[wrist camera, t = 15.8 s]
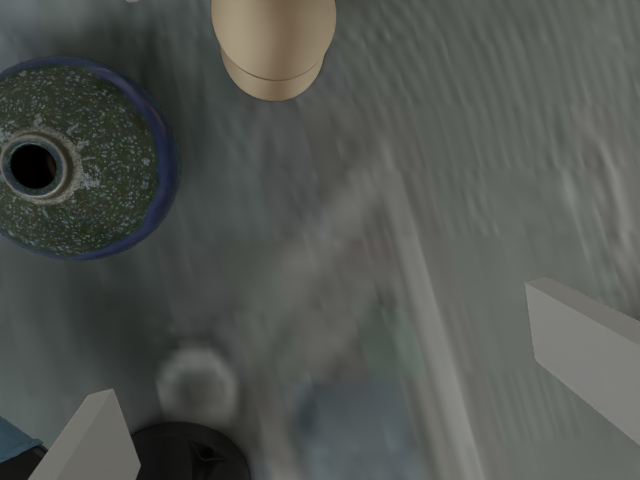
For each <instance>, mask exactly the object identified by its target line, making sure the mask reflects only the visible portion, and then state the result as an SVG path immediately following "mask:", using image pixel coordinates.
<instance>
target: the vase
mask: <svg viewBox="0 0 640 480" xmlns="http://www.w3.org/2000/svg"><path fill="white" fill-rule="evenodd" d="M180 174H181V158H180V152H179V146H178V141H177V138H176V135H175V132H174V129H173V127H172V125H171V123H170V121H169V119H168V117H167V115H166V114H165V112H164V111H163V110H162V108H161V107H160V105H159V104H158V103H157V101H156V100H155V99H154V98H153V97H152V96H151V95H150V94H149V93H148V92H147V91H146V90H145V89H144V88H143V87H142V86H141V85H140V84H138V83H137V82H136V81H134V80H133V79H132V78H131V77H129V76H127V75H126V74H124V73H122V72H120V71H119V70H117V69H115V68H113V67H110V66H108V65H105V64H102V63H100V62H97V61H93V60H88V59H84V58H80V57H71V56H50V57H41V58H36V59H32V60H29V61H25V62H21V63H19V64H17V65H15V66H12V67H10V68H8V69H6V70H4V71H3V72H2V73H0V233H1V234H2V235H3V236H5V237H6V238H8V239H9V240H11V241H12V242H14V243H15V244H17V245H19V246H21V247H23V248H25V249H27V250H30V251H32V252H34V253H38V254H41V255H44V256H47V257H50V258H56V259H62V260H80V261H83V260H93V259H101V258H105V257H109V256H112V255H116V254H118V253H121V252H123V251H125V250H127V249H129V248H131V247H133V246H135V245H136V244H138V243H139V242H141V241H142V240H144V239H145V238H147V237H148V236H149V235H150V234H151V233H152V232H153V231H154V230H155V229H156V228H157V227H158V226H159V225H160V223H161V222H162V221H163V219H164V218H165V217H166V215H167V213H168V211H169V210H170V208H171V206H172V204H173V202H174V200H175V196H176V193H177V190H178V187H179V181H180Z"/></svg>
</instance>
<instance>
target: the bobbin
mask: <svg viewBox="0 0 640 480" xmlns="http://www.w3.org/2000/svg"><path fill="white" fill-rule="evenodd" d="M211 13H212V22H213V27H214V30H215V33H216V36H217V38H218V41H219V43H220V48H221V55H222V59H223V62H224V65H225V67H226V70H227V72H228V73H229V75H230V77H231V78H232V80H233V81H234V82H235V83H236V85H238V86H239V87H240V88H241V89H242V90H243V91H244V92H246V93H247V94H249V95H251V96H253V97H255V98H257V99H261V100H264V101H272V102H273V101H284V100H288V99H291V98H293V97H296V96H298V95H299V94H301V93H302V92H304V91H305V90H306V89H307V88H308V87H309V86H310V85H311V84H312V83H313V81H314V80H315V78H316V77H317V75H318V73H319V71H320V69H321V66H322V63H323V59H324V54H325V52H326V51H327V49H328V47H329V45H330V43H331V41H332V38H333V35H334V31H335V26H336V5H335V0H212V7H211Z"/></svg>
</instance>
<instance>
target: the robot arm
mask: <svg viewBox="0 0 640 480" xmlns="http://www.w3.org/2000/svg"><path fill="white" fill-rule="evenodd" d="M524 283H525V290H526V297H527V304H528V312H529V319H530V326H531V334H532V341H533V348H534V356H535V360H536V361H537V362H538V363H539V364H540V365H542V366H543V367H544V368H545V369H547V370H548V371H549V372H550V373H551V374H553V375H554V376H555V377H556V378H558V379H559V380H560V381H561V382H562V383H564V384H565V385H566V386H567V387H569V388H570V389H571V390H572V391H573V392H575V393H576V394H577V395H578V396H580V397H581V398H582V399H583V400H584V401H586V402H587V403H588V404H589V405H591V406H592V407H593V408H594V409H595V410H597V411H598V412H599V413H600V414H601V415H603V416H604V417H605V418H606V419H608V420H609V421H610V422H611V423H612V424H614V425H615V426H616V427H617V428H619V429H620V430H621V431H622V432H623V433H625V434H626V435H627V436H628V437H630V438H631V439H632V440H633V441H634V442H636V443H637V444H638V445H639V446H640V321H638V320H636V319H634V318H632V317H630V316H628V315H626V314H624V313H622V312H620V311H617V310H615V309H613V308H611V307H609V306H607V305H605V304H603V303H601V302H599V301H597V300H595V299H593V298H591V297H589V296H587V295H584V294H582V293H580V292H578V291H576V290H574V289H572V288H570V287H568V286H566V285H564V284H562V283H560V282H558V281H556V280H553V279H551V278H549V277H543V278H539V279H536V280H532V281H528V282H524ZM42 443H43V442H42V441H41V440H39V439H33V438H31V437H30V436H28V435H27V434H25V433H24V432H22V431H21V430H20V429H18V428H17V427H15V426H14V425H13V424H11V423H10V422H8V421H7V420H6V419H4V418H2V417H1V416H0V480H251V479H250V473H249V469H248V466H247V463H246V461H245V459H244V457H243V455H242V454H241V452H240V451H239V450H238V448H237V447H236V446H235V445H234V444H233V443H232V442H231V441H230V440H229V439H227V438H226V437H225V436H223V435H222V434H220V433H218V432H217V431H215V430H212V429H210V428H208V427H205V426H202V425H198V424H192V423H184V422H173V423H164V424H159V425H155V426H152V427H149V428H146V429H144V430H142V431H140V432H138V433H136V434H134V435H133V436H130V433H129V431H128V428H127V425H126V422H125V420H124V417H123V414H122V411H121V408H120V406H119V403H118V400H117V397H116V394H115V392H114V389H113V388H112V389H108V390H104V391H101V392H97V393H93V394H89V395H87V397H86V398H85V400H84V401H83V403H82V404H81V405H80V407H79V408H78V410H77V411H76V412H75V414H74V415H73V417H72V418H71V419H70V421H69V422H68V424H67V425H66V426H65V428H64V429H63V431H62V432H61V434H60V435H59V436H58V438H57V439H56V441H55V442H54V443H53V445H52V446H51V448H50V449H49V450H48V449H46V448H45V447H44V446H43V445H42Z"/></svg>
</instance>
